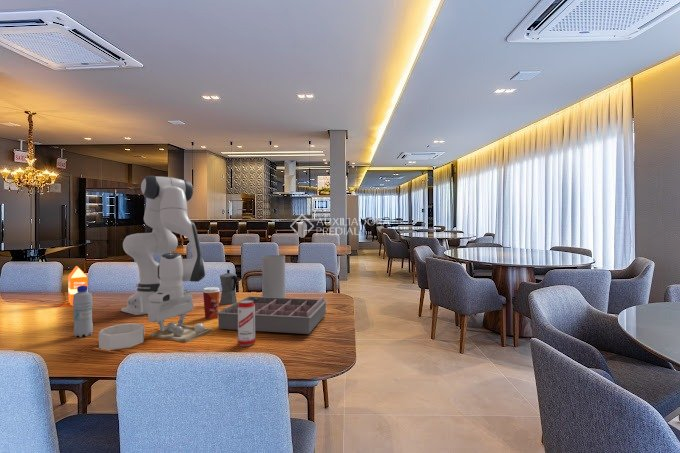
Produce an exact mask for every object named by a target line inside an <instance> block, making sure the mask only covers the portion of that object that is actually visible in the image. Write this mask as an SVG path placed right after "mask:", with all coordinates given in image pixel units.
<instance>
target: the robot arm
mask: <svg viewBox="0 0 680 453" xmlns="http://www.w3.org/2000/svg"><path fill="white" fill-rule="evenodd" d="M140 190H141V194H142V195H143V196H144V197H145V198H147V201H146V204H145V209H144V215H143V222H144V223H145V225H146V226H148V227H150V228H151V229H152V231H151V232H140V233H139V232H137V233H132V234H129V235H126V237H125V238H124V240H123V241H122V248H123V251H124V252H125V254H127V255H128V256H129V257H130V258H132V259H133V260H134V261H135V262H136V265H137V268H138V276H139V283H138V284H137V283H136V284H135V288H136V291H135V292H133V293H132V294H131V295H130V296H128V298H127V299H126V306H125V307H122V308H121V309H120V311H121V312H124V313H126V314H127V313H128V314H131V315H135V316H140V315H147V318H148V321H149V322H150V323H157V325H158V326H159V328H160V329H159V331H165V330H167V329H166V328H167V327H166V326H167V325H165V324H164V323H165V321H166V320H168V319H170V318H174V317H178V316H179V320H177V325H185V324H184V322H185V321H184V320H185V318H186V316H187V313H191V312H192V311H193V310H194V301H193V296H192V292H191V290H189V289H185V290H184V282H190V283H191V282H195V283H197V282H201V281H202V280H203V279H204V278H205V277H206V273H207V268H206V264H205V261H204V259H203V254H202V248H201V243H200V239H199V234H198V231H197V227H196V225H195V222H193V221H191V219H190V218H189V215H188V202H189V201H190V200H191V199H192V198H193V194H194V187H193V184H192V182H191V181H189V180H186V179H180V178H176V177H172V176H155V175H145V177H144V178H143V180H142V182H141V184H140ZM174 233H175V234H174ZM176 234H179V235H182V236H184V237H185V238H187V239H188V241H189V245H190V251H191V254H192V257H191V258H182V254H181V253H178V252H175V250H176V249H177V248H178V244H179V242H178V238H177V236H176ZM154 255H161V256H160V261H159V262H158V261H156V260H155V259H154Z"/></svg>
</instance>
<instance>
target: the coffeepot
mask: <svg viewBox="0 0 680 453" xmlns="http://www.w3.org/2000/svg"><path fill="white" fill-rule="evenodd" d="M237 277H238V275H237V274H236V273H231V272H230V269H226V273H222V274H220V275H219V279H220V285H221V286H220V288H221V293H220V294H221V295H220V299H219V304H221V305H233V304H235V303H237V302H238V299H237V295H236V288H237V282H238V278H237Z"/></svg>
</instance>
